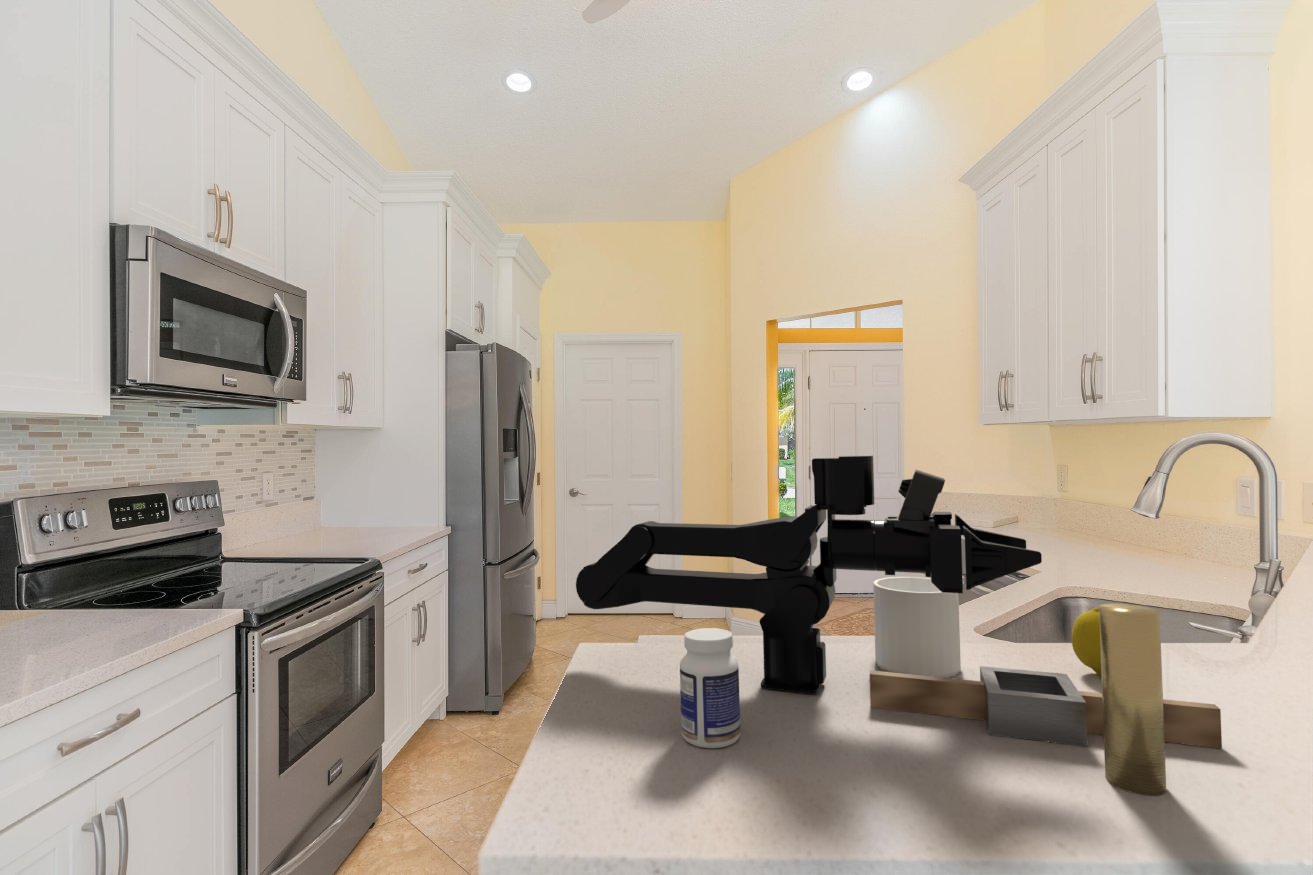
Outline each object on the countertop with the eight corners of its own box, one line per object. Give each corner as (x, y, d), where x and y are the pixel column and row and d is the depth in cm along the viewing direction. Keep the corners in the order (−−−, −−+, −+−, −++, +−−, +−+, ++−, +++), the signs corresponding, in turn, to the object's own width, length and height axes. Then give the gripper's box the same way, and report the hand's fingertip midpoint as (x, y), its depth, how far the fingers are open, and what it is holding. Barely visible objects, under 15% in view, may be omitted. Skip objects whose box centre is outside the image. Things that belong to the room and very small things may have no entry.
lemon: (1138, 684, 74) (1136, 613, 74) (1084, 681, 75) (1082, 612, 75) (1114, 668, 79) (1112, 602, 80) (1064, 666, 81) (1062, 601, 81)
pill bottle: (746, 728, 64) (743, 627, 65) (733, 754, 59) (731, 644, 59) (690, 721, 66) (688, 623, 67) (673, 745, 61) (671, 639, 61)
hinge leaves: (870, 706, 69) (869, 673, 69) (871, 702, 70) (870, 670, 70) (1222, 748, 58) (1220, 709, 58) (1216, 742, 59) (1214, 704, 59)
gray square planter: (989, 734, 62) (988, 692, 62) (981, 703, 69) (979, 665, 69) (1087, 746, 59) (1086, 702, 59) (1068, 713, 66) (1066, 673, 67)
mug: (979, 674, 78) (977, 589, 78) (907, 683, 76) (904, 595, 76) (914, 645, 90) (912, 571, 91) (849, 652, 88) (847, 576, 88)
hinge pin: (1113, 790, 52) (1106, 613, 52) (1099, 767, 55) (1093, 602, 56) (1174, 799, 50) (1167, 616, 50) (1156, 774, 54) (1149, 605, 54)
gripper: (868, 477, 65) (1048, 477, 59) (878, 471, 82) (1017, 470, 77) (871, 589, 65) (1052, 599, 59) (880, 559, 82) (1020, 564, 76)
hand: (1033, 550), depth 68 cm, fingers open, 9 cm apart
